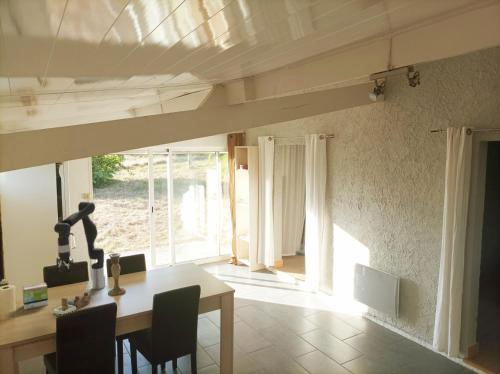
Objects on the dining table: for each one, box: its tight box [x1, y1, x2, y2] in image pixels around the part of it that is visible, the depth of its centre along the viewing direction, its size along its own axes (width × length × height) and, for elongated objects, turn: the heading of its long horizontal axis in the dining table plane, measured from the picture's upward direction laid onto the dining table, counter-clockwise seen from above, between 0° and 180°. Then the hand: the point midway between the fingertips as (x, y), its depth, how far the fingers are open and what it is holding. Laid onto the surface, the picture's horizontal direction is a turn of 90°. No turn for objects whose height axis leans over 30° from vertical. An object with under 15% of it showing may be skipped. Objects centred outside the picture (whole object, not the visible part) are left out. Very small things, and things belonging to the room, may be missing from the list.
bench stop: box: [74, 291, 91, 310], centre depth 266 cm, size 12×3×8 cm, turn 157°
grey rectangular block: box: [67, 295, 81, 306], centre depth 268 cm, size 10×7×4 cm
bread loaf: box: [61, 297, 68, 311], centre depth 255 cm, size 4×4×9 cm
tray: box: [53, 305, 77, 315], centre depth 255 cm, size 10×10×3 cm
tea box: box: [22, 282, 49, 310], centre depth 266 cm, size 15×10×15 cm
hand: (65, 272), depth 260 cm, fingers open, 8 cm apart
